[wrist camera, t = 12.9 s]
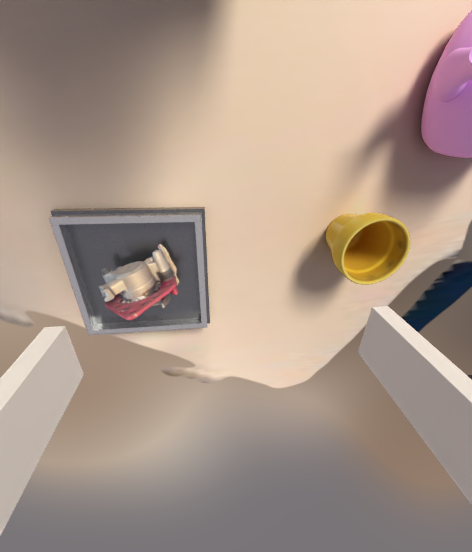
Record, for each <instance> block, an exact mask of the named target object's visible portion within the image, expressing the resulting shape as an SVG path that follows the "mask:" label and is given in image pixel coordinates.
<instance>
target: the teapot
mask: <svg viewBox="0 0 472 552" xmlns="http://www.w3.org/2000/svg"><path fill="white" fill-rule="evenodd" d="M421 132H422V137H423V140H424V142H425V143H426V144H427V146H428V147H429V148H430V149H431V150H433V151H434V152H436V153H439V154H443V155H447V156H452V157H460V158H472V11H471V12H470V13H469V14H468V15H467V16H466V17H465V19H464V20H463V21H462V22H461V24H460V25H459V26H458V28H457V29H456V30H455V32H454V34H453V35H452V37H451V38H450V40H449V42H448V44H447V45H446V47H445V49H444V51H443V53H442V55H441V57H440V59H439V61H438V64H437V66H436V68H435V70H434V73H433V75H432V78H431V81H430V83H429V87H428V90H427V94H426V98H425V102H424V108H423V114H422V123H421Z"/></svg>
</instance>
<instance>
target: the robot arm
mask: <svg viewBox="0 0 472 552" xmlns="http://www.w3.org/2000/svg"><path fill="white" fill-rule="evenodd" d="M358 353H359V354H360V356H361V357H362V358H363V360H364V361H365V363H366V364H367V365H368V366H369V368H370V369H371V371H372V372H373V373H374V375H375V376H376V377H377V379H378V380H379V381H380V383H381V384H382V385H383V387H384V388H385V389H386V391H387V392H388V393H389V395H390V396H391V397H392V399H393V400H394V401H395V403H396V404H397V405H398V407H399V408H400V409H401V411H402V412H403V413H404V415H405V416H406V418H407V419H408V420H409V422H410V423H411V424H412V426H413V427H414V428H415V430H416V431H417V432H418V434H419V435H420V436H421V437H422V439H423V440H424V442H425V443H426V444H427V446H428V447H429V448H430V450H431V451H432V452H433V454H434V455H435V456H436V458H437V459H438V460H439V462H440V463H441V464H442V466H443V467H444V468H445V470H446V471H447V472H448V474H449V475H450V477H451V478H452V479H453V480H454V482H455V483H456V484H457V486H458V487H459V489H460V490H461V491H462V493H463V494H464V495H465V496H466V498H467V499H468V500H469V502H470V503H471V505H472V375H466V374H464V373H463V372H462V371H461V370H460V369H459V368H458V367H456V366H455V365H454V364H453V363H452V362H451V361H449V359H447V358H446V357H445V356H444V355H443V354H442V353H440V352H439V351H438V350H437V349H436V348H435V347H434V346H433V345H431V344H430V343H429V342H428V341H427V340H426V339H425V338H423V337H422V336H421V335H420V334H419V333H418V332H417V331H415V330H414V329H413V328H412V327H411V326H410V325H409V324H407V323H406V322H405V321H404V320H403V319H402V318H401V317H399V316H398V315H397V314H396V313H395V312H393V310H391V309H390V308H389V307H388V306H384V307H372V309H371V312H370V316H369V319H368V322H367V325H366V328H365V331H364V334H363V338H362V341H361V344H360V347H359V350H358ZM83 375H84V373H83V371H82V368H81V366H80V363H79V360H78V358H77V356H76V353H75V350H74V348H73V345H72V342H71V340H70V337H69V335H68V332H67V329H66V327H65V326H58V327H44V329H43V330H42V331H41V332H40V333H39V334H38V336H37V337H36V338H35V339H34V340H33V341H32V342H31V344H30V345H29V346H28V347H27V348H26V349H25V350H24V352H23V353H22V354H21V355H20V356H19V357H18V359H17V360H16V361H15V362H14V363H13V364H12V365H11V367H10V368H9V369H8V370H7V371H6V372H5V373H4V375H3V376H2V377H1V378H0V535H1V533H2V531H3V529H4V527H5V526H6V524H7V522H8V520H9V518H10V516H11V514H12V512H13V510H14V508H15V506H16V504H17V502H18V501H19V499H20V497H21V495H22V493H23V491H24V489H25V487H26V485H27V483H28V481H29V479H30V477H31V476H32V474H33V472H34V470H35V468H36V466H37V464H38V462H39V460H40V458H41V456H42V454H43V452H44V450H45V449H46V447H47V445H48V443H49V441H50V439H51V437H52V435H53V433H54V431H55V429H56V427H57V425H58V424H59V422H60V419H61V418H62V416H63V414H64V412H65V410H66V408H67V406H68V404H69V402H70V400H71V398H72V397H73V395H74V392H75V391H76V389H77V387H78V385H79V383H80V381H81V379H82V377H83Z"/></svg>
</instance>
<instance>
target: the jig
mask: <svg viewBox="0 0 472 552" xmlns="http://www.w3.org/2000/svg"><path fill="white" fill-rule="evenodd" d="M51 214H52V216H51V217H49V220H50V223H51V226H52V229H53V232H54V235H55V238H56V241H57V244H58V247H59V249H60V252H61V255H62V258H63V261H64V264H65V267H66V270H67V273H68V276H69V279H70V282H71V285H72V288H73V291H74V294H75V297H76V300H77V303H78V306H79V308H80V311H81V314H82V317H83V320H84V323H85V326H86V329H87V332H88V335H96V334H97V335H98V334H113V333H128V332H143V331H159V330H174V329H189V328H204V327H207V323H210V316H209V294H208V273H207V252H206V231H205V210H204V207H178V208H108V209H54V210H52V211H51ZM160 244H161V245H162V246H163V247H164V248H166V250H167V252H168V253H169V256H170V258H171V260H172V262H173V263H174V265H175V266H176V269H177V274H176V276H177V278H178V279H179V284H178V285H177V286H176V288H177V290H178V294H177V295H172V294H171V293H169V295H170V301H169V303H168V304H167V305H166V307H165V308H162V305H156V306H152V307H150V308H149V309H147V310H146V311H144V312H143V313H142V314H141V315H140V316H138V317H137V318H135V319H133V320H126V319H124V318H122V317H121V316H119V315H117V314H115V313H114V312H113V311H111V310H109V309H107V308H106V306H105V303H106V302H105V301H104V299H105V297H103V296H102V293H101V291H100V289H99V286H101V285H104V284H106V282H105V280H104V278H103V276H102V275H103V274H102V269H103V268H108V269H109V270H112V271H113V270H116V269H117V268H118V267H123V266H125V265H127V264H130V263H133V262H137V261H145V260H146V259H147V258H149V257H151V256H153V252H154V251H155V250H159V249H158V245H160ZM127 309H128V308H127ZM127 309H125V310H127ZM125 310H124V311H125Z"/></svg>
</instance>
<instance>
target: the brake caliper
mask: <svg viewBox="0 0 472 552" xmlns="http://www.w3.org/2000/svg"><path fill="white" fill-rule="evenodd" d="M158 249H159V250H155V251H154V252H153V256H151V257H149V258H147V259H146V260H145V261H137V262H133V263H130V264H127V265H125V266H123V267H118V268H117V269H116V270H113V271H112V270H109V269H108V268H103V269H102V274H103V275H102V276H103V278H104V280H105V282H106V284H104V285H101V286H99V289H100V291H101V293H102V296H103V297H105V299H104V301H105V302H106V303H105V306H106V308H107V309H109V310H111V311H113V312H114V313H115V314H117V315H119V316H121V317H122V318H124V319H126V320H133V319H135V318H137V317H138V316H140V315H141V314H142V313H143V312H144V311H146V310H147V309H149V308H150V307H152V306H156V305H162V308H165V307H166V305H167V304H168V303H169V301H170V295H169V293H171V294H172V295H177V294H178V290H177V288H176V286H177V285H178V284H179V279H178V278H177V276H176V274H177V269H176V266H175V265H174V263H173V262H172V260H171V258H170V256H169V253H168V252H167V250H166V248H164V247H163V246H162V245H161V244H160V245H158ZM127 308H128V309H127ZM125 309H127V310H125ZM124 310H125V311H124Z"/></svg>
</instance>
